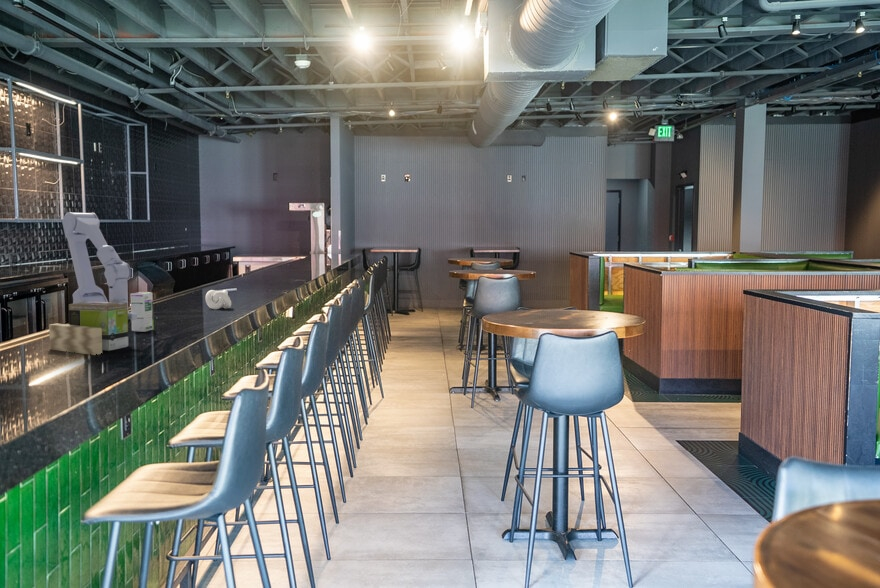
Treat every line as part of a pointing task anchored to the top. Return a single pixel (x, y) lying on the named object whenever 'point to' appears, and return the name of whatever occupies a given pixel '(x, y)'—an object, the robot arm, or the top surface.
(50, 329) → the birch board
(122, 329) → the tea box
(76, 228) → the robot arm
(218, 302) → the white curved lump
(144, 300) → the syrup box
